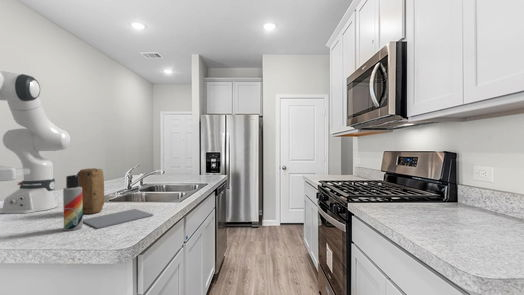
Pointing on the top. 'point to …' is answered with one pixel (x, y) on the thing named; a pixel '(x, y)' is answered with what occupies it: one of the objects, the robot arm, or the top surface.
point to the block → (92, 189)
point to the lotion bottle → (72, 204)
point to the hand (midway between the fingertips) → (29, 171)
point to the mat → (116, 218)
